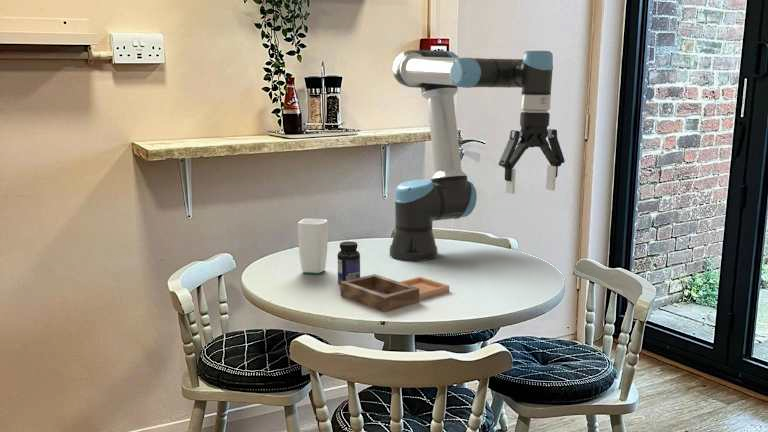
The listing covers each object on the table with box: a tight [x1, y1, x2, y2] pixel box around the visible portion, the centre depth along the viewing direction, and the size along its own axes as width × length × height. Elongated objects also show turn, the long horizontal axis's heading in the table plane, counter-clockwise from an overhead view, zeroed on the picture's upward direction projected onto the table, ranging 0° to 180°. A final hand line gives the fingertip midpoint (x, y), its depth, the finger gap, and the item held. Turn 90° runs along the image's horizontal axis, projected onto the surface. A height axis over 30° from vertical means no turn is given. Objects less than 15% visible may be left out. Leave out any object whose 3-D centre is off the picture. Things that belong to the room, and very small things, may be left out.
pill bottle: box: [337, 241, 361, 284], centre depth 183 cm, size 6×6×11 cm
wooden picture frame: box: [339, 273, 420, 313], centre depth 170 cm, size 17×12×4 cm
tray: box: [400, 276, 450, 301], centre depth 177 cm, size 11×11×2 cm
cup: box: [297, 218, 329, 275], centre depth 193 cm, size 7×7×15 cm
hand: (530, 191), depth 181 cm, fingers open, 13 cm apart
